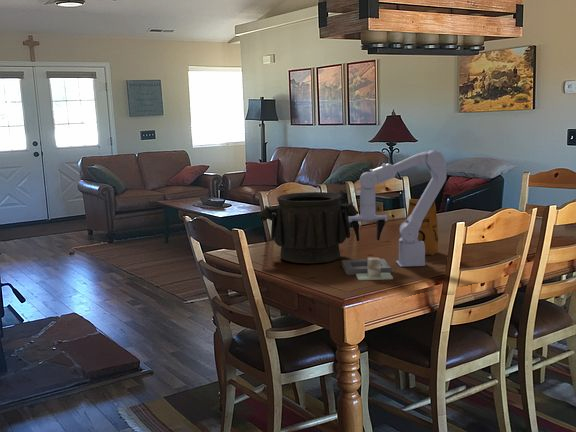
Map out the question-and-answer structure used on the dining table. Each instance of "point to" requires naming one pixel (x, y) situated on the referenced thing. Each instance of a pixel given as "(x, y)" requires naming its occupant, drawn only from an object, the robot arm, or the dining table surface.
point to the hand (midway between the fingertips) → (367, 240)
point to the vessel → (309, 226)
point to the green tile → (365, 277)
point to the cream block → (374, 267)
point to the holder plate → (362, 266)
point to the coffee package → (427, 228)
